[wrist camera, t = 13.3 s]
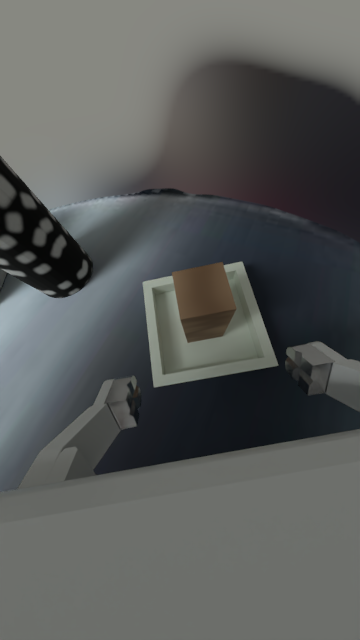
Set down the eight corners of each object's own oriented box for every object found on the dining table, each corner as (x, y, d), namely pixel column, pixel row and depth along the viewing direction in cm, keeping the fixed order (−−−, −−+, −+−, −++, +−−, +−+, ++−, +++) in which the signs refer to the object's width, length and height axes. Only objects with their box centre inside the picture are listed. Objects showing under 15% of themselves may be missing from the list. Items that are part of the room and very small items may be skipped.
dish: (159, 386, 19) (153, 387, 17) (148, 292, 24) (142, 281, 21) (268, 367, 19) (278, 365, 16) (237, 274, 23) (242, 261, 21)
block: (187, 342, 20) (180, 319, 12) (181, 310, 21) (171, 272, 14) (222, 336, 20) (236, 308, 12) (214, 304, 21) (222, 262, 14)
